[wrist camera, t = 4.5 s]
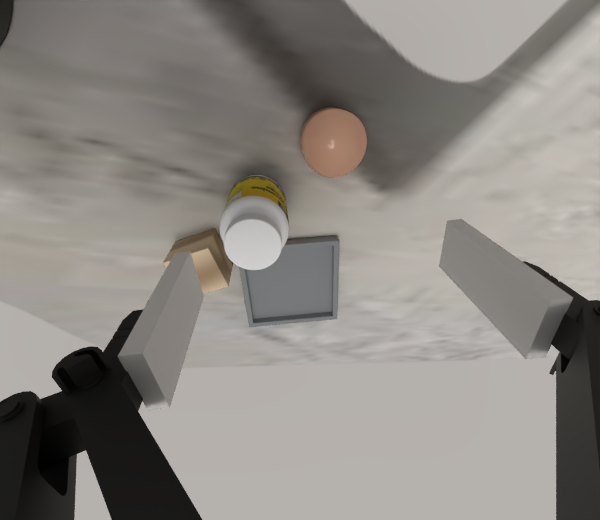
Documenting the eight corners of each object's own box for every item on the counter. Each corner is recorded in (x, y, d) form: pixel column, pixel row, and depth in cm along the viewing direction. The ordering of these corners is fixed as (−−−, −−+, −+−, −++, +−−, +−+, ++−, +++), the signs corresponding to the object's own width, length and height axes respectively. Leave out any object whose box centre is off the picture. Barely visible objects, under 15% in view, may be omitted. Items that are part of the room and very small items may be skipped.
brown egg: (298, 108, 30) (302, 111, 27) (358, 105, 30) (369, 107, 27) (301, 170, 33) (304, 179, 30) (355, 166, 33) (364, 175, 30)
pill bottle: (296, 199, 34) (307, 244, 25) (260, 236, 36) (257, 291, 27) (254, 160, 32) (248, 193, 22) (217, 202, 34) (197, 248, 24)
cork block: (175, 241, 36) (162, 263, 31) (215, 228, 35) (207, 248, 31) (195, 274, 38) (186, 299, 34) (233, 262, 38) (228, 285, 33)
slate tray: (237, 242, 36) (236, 248, 35) (336, 235, 37) (339, 240, 36) (249, 319, 42) (249, 327, 41) (335, 311, 43) (337, 318, 42)
